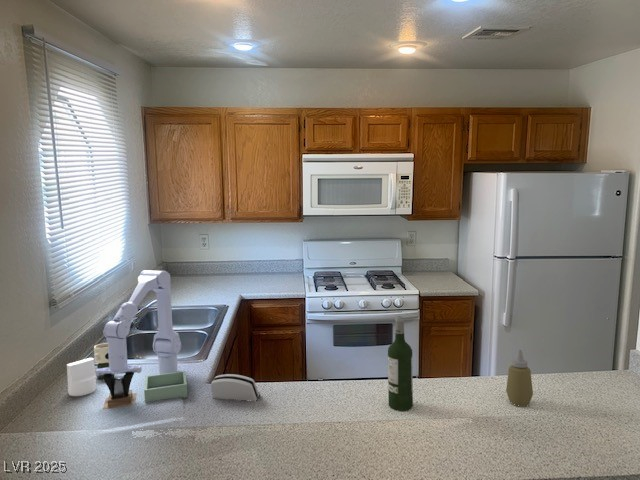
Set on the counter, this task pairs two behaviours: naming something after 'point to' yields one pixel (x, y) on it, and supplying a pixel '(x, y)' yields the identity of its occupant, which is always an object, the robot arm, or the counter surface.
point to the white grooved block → (81, 377)
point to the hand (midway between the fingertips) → (120, 394)
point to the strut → (119, 387)
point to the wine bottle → (400, 370)
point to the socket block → (120, 401)
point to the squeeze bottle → (519, 381)
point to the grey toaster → (234, 387)
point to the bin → (167, 390)
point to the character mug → (101, 356)
